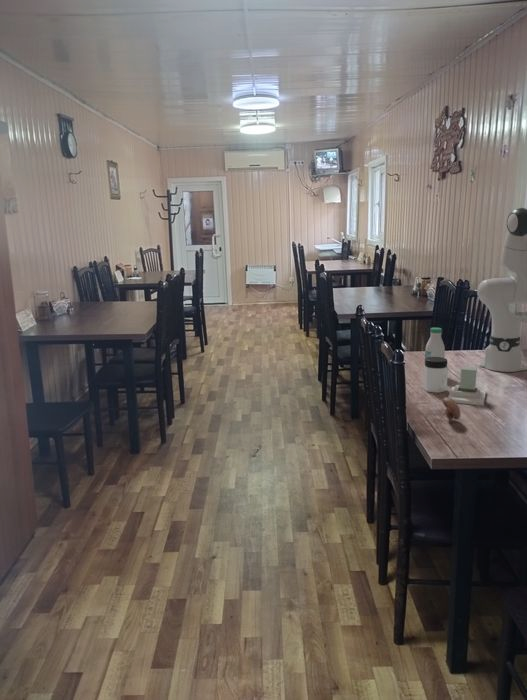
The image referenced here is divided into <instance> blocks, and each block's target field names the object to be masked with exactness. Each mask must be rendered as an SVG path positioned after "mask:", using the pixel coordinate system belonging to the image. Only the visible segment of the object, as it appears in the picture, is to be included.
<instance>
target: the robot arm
mask: <svg viewBox="0 0 527 700" xmlns="http://www.w3.org/2000/svg"><path fill="white" fill-rule="evenodd" d="M506 228H507V231H506V234H505V239H504V242H503V245H502V252H501V257H500V264H501V266H502V267H503V268H504V269H505V270H507V271H509V272H510V276H509V277H494V278H493V277H492V278H488V279H484V280H482V281H481V282H479V284H478V286H477V289H476V291H477V292H476V293H477V298H478V300H479V301H480V302H481V303H482V304H483V305H485V306H486V308H487V309H488V311H489V313H490V317H491V332H490V333H491V334H490V336H489V345H488V346H487V347H486V348H485V349H484V357H483V359H484V360H483V361H481V362H480V363H479V366H478V367H481V368H485V369H487V370H491V371H496V372H504V373H514V372H519V371H520V372H521V371H527V366H526V365H525V364H524V363H523V359H524V358H523V355H524V352H523V350H522V349H521V347H520V345H521V337H520V332H521V323H525V324H527V310H525V311H516V312H515V313H514V312H512V311H510V305H517V304H519V305H523V304H527V207H519V208H516V209H513V210H511V211H510V213H509V214H508V216H507V220H506Z"/></svg>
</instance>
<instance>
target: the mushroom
mask: <svg viewBox="0 0 527 700" xmlns="http://www.w3.org/2000/svg"><path fill="white" fill-rule="evenodd" d="M441 402H442V404H443V406H444V407H445V416H446V418H447V419H448V421H449V422H451V421H453V420H459V419H460V418H461V410H460V407H459V405H458V403H456V402H455V401H454V400H453V399H452V398H449V397H448V396H445V397H443V398H442V400H441Z"/></svg>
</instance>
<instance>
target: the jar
mask: <svg viewBox="0 0 527 700" xmlns="http://www.w3.org/2000/svg"><path fill="white" fill-rule="evenodd" d="M422 371H423V372H422V375H423V376H422V389H423V390H424V391H426V392H427V393H436V394H440V393H443V392H447V390H448V389H447V388H448V372H449V367H448V358H446V357H444V358H442V357H427V358H425V357H424V365H423V370H422Z"/></svg>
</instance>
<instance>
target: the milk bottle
mask: <svg viewBox="0 0 527 700" xmlns="http://www.w3.org/2000/svg"><path fill="white" fill-rule="evenodd" d="M429 331H430V333H429V334H430V335H429V336H430V337H429V339H428V341H427V343H426V345H425V349H424V350H425V351H424V352H425V353H424V359H425V358H427V357H442V358H445V354H446V353H445V351H446V349H445V344H444V341H443V339H442V334H443V328H441V327H430V330H429Z"/></svg>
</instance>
